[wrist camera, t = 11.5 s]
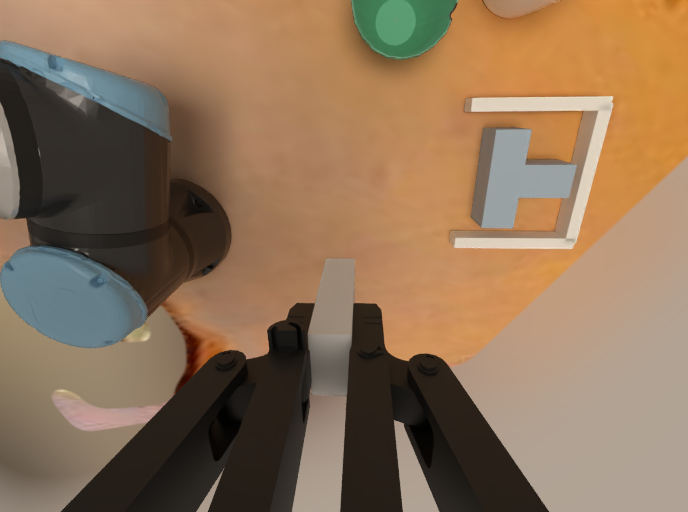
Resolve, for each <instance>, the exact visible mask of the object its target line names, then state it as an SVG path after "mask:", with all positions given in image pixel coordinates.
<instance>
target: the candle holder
mask: <svg viewBox="0 0 688 512" xmlns="http://www.w3.org/2000/svg"><path fill="white" fill-rule="evenodd" d="M558 1H561V0H483V2H484V4H485V5H486V7H487V8H488V9H489V10H490V11H491V12H492V13H494V14H495V15H497V16H499V17H503V18H518V17H522V16H525V15H527V14H530V13H532V12H535V11H537V10H540V9H542V8H544V7H547V6H549V5H551V4H554V3H556V2H558Z"/></svg>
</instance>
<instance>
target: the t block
mask: <svg viewBox="0 0 688 512" xmlns="http://www.w3.org/2000/svg"><path fill="white" fill-rule="evenodd" d="M531 131H532V129H524V128H516V127H497V128H483V133H482V140H481V147H480V155H479V162H478V169H477V176H476V184H475V191H474V198H473V205H472V213H471V218H472V219H473V220H474V221H475V222H476V223H477V224H478V225H479V226H480V227H481V228H513V226H514V221H515V215H516V210H517V205H518V200H519V198H569V195H570V191H571V187H572V183H573V179H574V175H575V171H576V167H577V165H576V164H572V163H568V162H564V161H561V160H557V159H526V157H527V152H528V147H529V142H530V136H531Z"/></svg>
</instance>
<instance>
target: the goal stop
mask: <svg viewBox="0 0 688 512" xmlns="http://www.w3.org/2000/svg"><path fill="white" fill-rule="evenodd" d="M612 99H613V96H597V97H508V98H467V99H466V100H465V108H464V112H491V111H583V115H582V119H581V123H580V127H579V131H578V136H577V140H576V144H575V148H574V152H573V157H572V161H571V163H572V164H576V165H577V167H576V171H575V175H574V179H573V183H572V187H571V191H570V195H569V198H562V202H561V207H560V211H559V215H558V219H557V223H556V227H555V231H450V237H449V241H450V242H451V244H452V245H453V247H454V248H522V249H573V246H574V244H576V242H577V238H578V234H579V230H580V227H581V223H582V219H583V216H584V212H585V208H586V204H587V201H588V197H589V193H590V189H591V186H592V182H593V178H594V175H595V171H596V167H597V163H598V160H599V156H600V152H601V149H602V145H603V141H604V137H605V134H606V130H607V126H608V122H609V119H610V115H611V111H612V108H613V104H614V103H612Z"/></svg>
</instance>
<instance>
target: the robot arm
mask: <svg viewBox="0 0 688 512" xmlns="http://www.w3.org/2000/svg"><path fill="white" fill-rule="evenodd" d="M172 140H173V138H172V136H171V135H170V120H169V106H168V102H167V100H166V98H165V96H164V95H163V94H162V93H161V92H160V91H159V90H158V89H157V88H155V87H154V86H152V85H149V84H146V83H143V82H140V81H137V80H134V79H131V78H128V77H125V76H122V75H119V74H115V73H112V72H109V71H106V70H103V69H99V68H96V67H93V66H89V65H86V64H83V63H80V62H76V61H73V60H70V59H66V58H62V57H60V56H56V55H53V54H50V53H46V52H43V51H40V50H37V49H34V48H31V47H27V46H24V45H21V44H17V43H14V42H10V41H0V218H1V219H5V220H11V219H20V218H26V219H27V226H28V232H29V238H30V246H28V247H24V248H22V249H19V250H17V251H16V252H15V253H14V254H13V256H12V257H11V258H10V260H9V261H7V262H6V263H5V264H4V265H3V267H2V269H1V273H0V283H1V288H2V291H3V294H4V296H5V298H6V300H7V301H8V303H9V305H10V306H11V307H12V309H13V310H14V311H15V312H16V314H17V315H18V316H19V317H20V318H22V319H23V320H24V321H25V322H26V323H27V324H28V325H30V326H32V327H33V328H35V329H36V330H37V331H39V332H40V333H42V334H43V335H45V336H47V337H49V338H51V339H53V340H56V341H58V342H61V343H64V344H67V345H71V346H75V347H83V348H100V347H106V346H109V345H112V344H115V343H117V342H119V341H121V340H122V339H124V338H125V337H126V336H127V335H129V334H130V333H131V332H132V331H133V330H135V329H137V328H139V327H141V326H142V325H143V324H144V323H145V321H146V320H147V318H148V317H149V316H150V315H151V314H152V313H153V312H154V311H155V310H156V309H157V308H158V307H159V306H160V305H161V304H162V303H163V302H164V301H165V300H166V299H167V298H168V297H169V296H170V295H171V294H172V293H173V292H174V291H175V290H176V289H177V288H178V287H179V286H180V285H181V284H182V283H184V282H188V281H191V280H194V279H197V278H201V277H203V276H205V275H207V274H209V273H210V272H212V271H213V270H214V269H215V268H216V267H217V266H218V265H219V264H220V263H221V262H222V261H223V259H224V258H225V256H226V255H227V253H228V250H229V247H230V243H231V229H230V224H229V221H228V218H227V216H226V214H225V212H224V210H223V208H222V207H221V205H220V204H219V203H218V201H217V200H216V199H215V198H214V197H213V196H212V195H211V194H210V193H208V192H207V191H206V190H204V189H203V188H201V187H200V186H198V185H196V184H193V183H191V182H188V181H185V180H180V179H170V142H172ZM267 332H268V341H269V352H268V354H266V355H264V356H260V357H257V358H252V359H247V360H246V356H245V355H244V354H243V353H242V352H239V351H235V350H229V351H224V352H221V353H218V354H216V355H214V356H213V357H212V358H210V359H209V360H208V361H207V362H206V363H205V364H204V365H203V366H202V367H201V369H200V370H199V371H198V372H197V373H196V374H195V375H194V376H193V377H192V378H191V379H190V380H189V381H188V382H187V383H186V384H185V385H184V386H183V387H182V388H181V389H180V390H179V391H178V392H177V393H176V394H175V395H174V396H173V397H172V398H171V399H170V400H169V401H168V402H167V403H166V404H165V405H164V406H163V407H162V408H161V410H160V411H159V412H158V413H157V414H156V415H155V416H154V417H153V418H152V419H151V420H150V421H149V422H148V423H147V424H146V425H145V426H144V427H143V428H142V429H141V430H140V431H139V432H138V433H137V434H136V435H135V436H134V437H133V438H132V439H131V440H130V441H129V442H128V443H127V444H126V445H125V446H124V448H122V450H120V452H119V453H118V454H117V455H116V456H115V457H114V458H113V459H112V460H111V461H110V462H109V463H108V464H107V465H106V466H105V467H104V468H103V469H102V470H101V471H100V472H99V473H98V474H97V475H96V476H95V477H94V478H93V479H92V480H91V481H90V482H89V483H88V484H87V485H86V486H85V487H84V489H82V490H81V492H80V493H79V494H78V495H77V496H76V497H75V498H74V499H73V500H72V501H71V502H70V503H69V504H68V505H67V506H66V507H65V508H64V509H63V510H62V511H61V512H196V511H197V509H198V508H199V506H200V505H201V503H202V502H203V500H204V498H205V497H206V495H207V494H208V492H209V491H210V489H211V488H212V486H213V485H214V483H215V481H216V480H217V478H218V477H219V475H220V474H221V472H222V471H223V473H222V476H221V479H220V481H219V484H218V486H217V489H216V491H215V494H214V497H213V499H212V502H211V505H210V507H209V510H208V512H292V507H293V501H294V495H295V489H296V483H297V478H298V472H299V466H300V460H301V454H302V448H303V443H304V437H305V431H306V425H307V420H308V414H309V408H310V403H309V402H310V401H309V394H310V388H311V395H334V396H347V403H346V421H345V438H344V458H343V474H342V491H341V510H340V512H403V510H402V499H401V490H400V480H399V469H398V459H397V449H396V440H395V439H396V438H395V429H394V420H396V421H399V422H402V423H404V427H405V430H406V432H407V435H408V437H409V439H410V442H411V444H412V447H413V449H414V452H415V454H416V456H417V459H418V461H419V464H420V466H421V468H422V471H423V473H424V475H425V478H426V480H427V483H428V485H429V488H430V490H431V492H432V495H433V497H434V499H435V502H436V504H437V507H438V509H439V511H440V512H549V511H548V510H547V508H546V507H545V505H544V504H543V502H542V501H541V499H540V498H539V496H538V495H537V494H536V492H535V491H534V489H533V488H532V486H531V485H530V483H529V482H528V481H527V479H526V478H525V476H524V475H523V473H522V472H521V470H520V469H519V468H518V466H517V465H516V463H515V462H514V460H513V459H512V457H511V456H510V454H509V453H508V452H507V450H506V449H505V447H504V446H503V445H502V443H501V441H500V440H499V439H498V437H497V436H496V434H495V433H494V431H493V430H492V429H491V427H490V425H489V424H488V423H487V421H486V420H485V418H484V417H483V415H482V414H481V413H480V411H479V410H478V408H477V407H476V405H475V404H474V402H473V401H472V399H471V398H470V396H469V395H468V394H467V392H466V391H465V389H464V388H463V386H462V385H461V383H460V382H459V381H458V379H457V378H456V376H455V375H454V373H453V372H452V371H451V369H450V368H449V366H448V365H447V363H446V362H445V361H444V360H443V359H441V358H439V357H437V356H435V355H431V354H418V355H415V356H413V357H412V358H411V359H410V360H409V361H405V360H401V359H398V358H396V357H394V356H392V355H391V354H390V353H388V351H387V350H386V348H385V344H384V334H383V324H382V313H381V309H380V308H379V307H378V306H377V304H365V303H355V259H354V258H326V260H325V264H324V269H323V273H322V277H321V281H320V285H319V289H318V293H317V297H316V302H315V304H314V303H297V304H295V305H294V306H293V307H292V308H291V309H290V311H289V314H288V317H287V319H286V320H284V321H280V322H277V323H275V324H273V325H271V326H270V327H269V329H268V330H267ZM224 467H225V468H224ZM223 469H224V470H223Z"/></svg>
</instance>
